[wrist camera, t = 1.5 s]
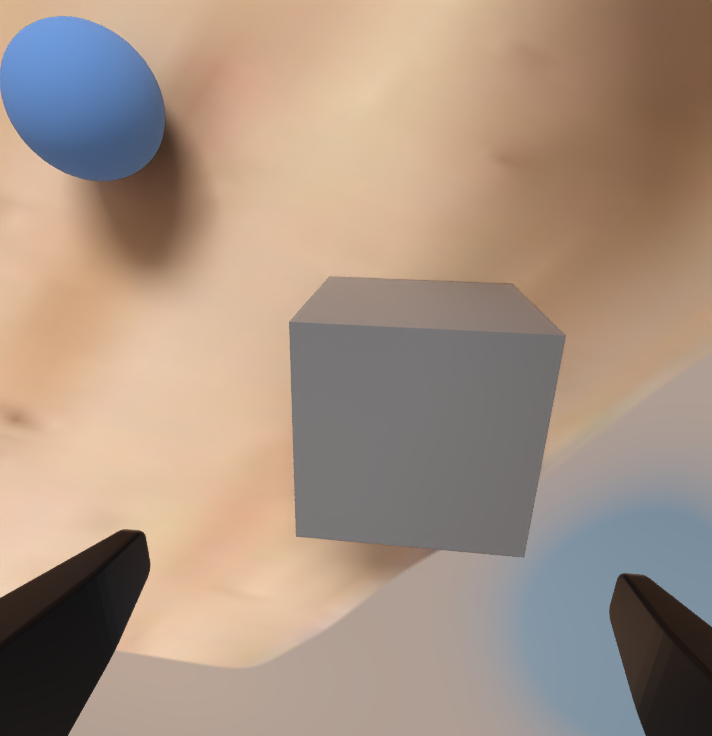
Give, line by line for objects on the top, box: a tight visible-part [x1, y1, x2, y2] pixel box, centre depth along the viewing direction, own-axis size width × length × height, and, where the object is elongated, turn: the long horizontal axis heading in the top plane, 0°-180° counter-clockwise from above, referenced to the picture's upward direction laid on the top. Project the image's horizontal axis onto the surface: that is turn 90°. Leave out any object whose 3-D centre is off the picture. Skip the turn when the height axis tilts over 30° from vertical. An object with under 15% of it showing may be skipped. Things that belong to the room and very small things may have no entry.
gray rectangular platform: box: [289, 277, 566, 557], centre depth 18 cm, size 8×8×7 cm
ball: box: [0, 16, 165, 181], centre depth 17 cm, size 5×5×5 cm
